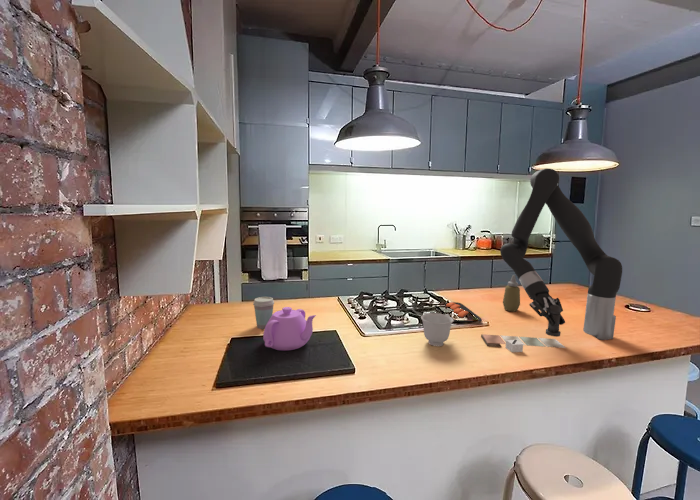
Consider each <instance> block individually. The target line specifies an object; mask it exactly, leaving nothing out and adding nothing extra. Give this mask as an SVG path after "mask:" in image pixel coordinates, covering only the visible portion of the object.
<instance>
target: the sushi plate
mask: <svg viewBox="0 0 700 500" xmlns="http://www.w3.org/2000/svg"><path fill="white" fill-rule="evenodd" d="M439 302H440V301H437V302H435V303H439ZM448 302H449V303H447V304H446V307H450V308H451V309H453V310H454V311H453V312H454V313H456V314H458V315H457V316H458V317H459V318H464V317H465V316H466V315H467V314H468V313H469V312H470V313H471V314H472V315H474V316H475V317H476V318H478V319H479V320H478V321H480V322H482V321H483V319H482V318H481V317H480V316H479V315H478V314H476V313H475V312H474V311H473V310H471V309H470V308H468V307H467V306H465V304H464V303H461V302H455V301H451V302H450V301H448ZM437 305H438V304H437ZM460 308H461V309H460ZM464 310H465V311H464ZM425 311H426V312H425V313H427V312H428V311H427V310H425ZM429 312H430V313H435V312H436V311H435V312H433V311H429ZM456 321H457V320H454V322H456ZM458 322H459V323H474V322H473V321H458Z"/></svg>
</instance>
